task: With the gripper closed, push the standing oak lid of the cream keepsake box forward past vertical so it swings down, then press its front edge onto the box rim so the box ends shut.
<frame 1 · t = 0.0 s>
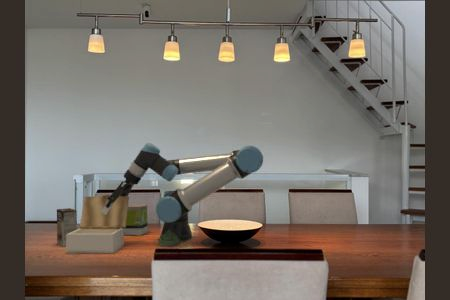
hand: (108, 211, 176), 15 cm above the table, tool tilted 35°, fingers open, 13 cm apart
tea box: (131, 234, 200), on the table
lid: (104, 211, 177), point 15 cm above the table, hinge at 112.0°
chest: (96, 249, 167), on the table
coffee box: (66, 244, 178), on the table
decorative artifact: (169, 245, 175), on the table
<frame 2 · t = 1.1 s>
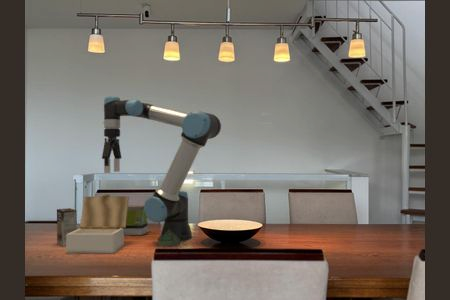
hand: (112, 172, 187), 33 cm above the table, tool pointing down, fingers open, 13 cm apart
nothing on the table moved.
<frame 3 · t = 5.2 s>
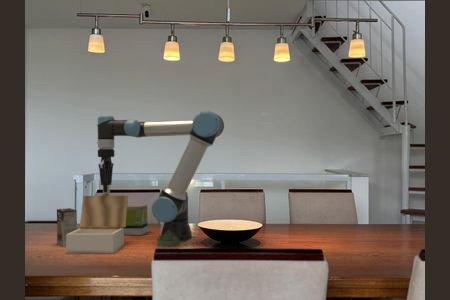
hand: (106, 198, 180), 21 cm above the table, tool pointing down, fingers closed
lid: (103, 211, 176), point 15 cm above the table, hinge at 106.1°, touching gripper
everything else where it was.
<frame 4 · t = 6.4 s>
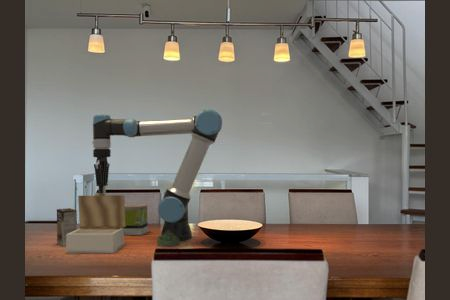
hand: (102, 200, 175), 21 cm above the table, tool pointing down, fingers closed
lid: (101, 211, 173), point 16 cm above the table, hinge at 84.6°, touching gripper
everything else where it was.
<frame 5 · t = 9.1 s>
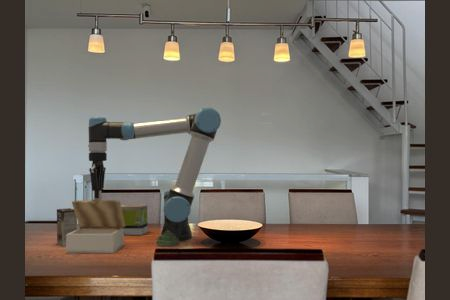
hand: (97, 205, 169), 19 cm above the table, tool pointing down, fingers closed
lid: (98, 214, 170), point 14 cm above the table, hinge at 58.5°
everything else where it was.
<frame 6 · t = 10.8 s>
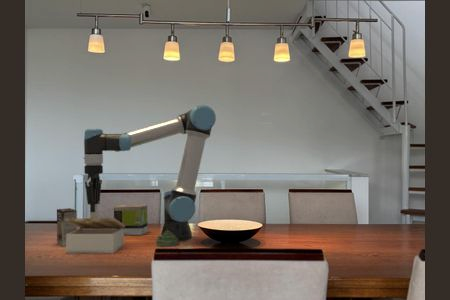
hand: (93, 219, 165), 13 cm above the table, tool pointing down, fingers closed
lid: (96, 224, 167), point 11 cm above the table, hinge at 21.1°, touching gripper
everything else where it was.
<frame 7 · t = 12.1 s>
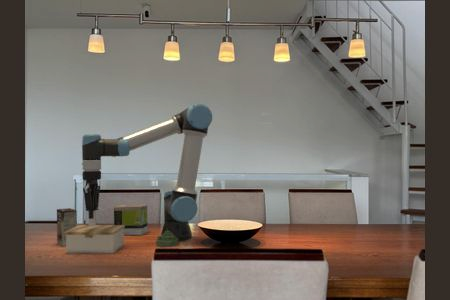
hand: (92, 225, 163), 11 cm above the table, tool pointing down, fingers closed
lid: (95, 230, 166), point 8 cm above the table, hinge at -1.2°, touching chest
everything else where it was.
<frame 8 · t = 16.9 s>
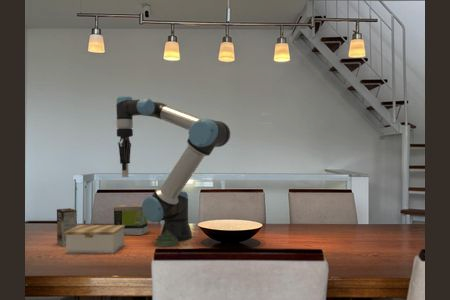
hand: (125, 177, 186), 30 cm above the table, tool pointing down, fingers closed
at the end: lid at -1° (first picture: +112°); lid touching chest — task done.
